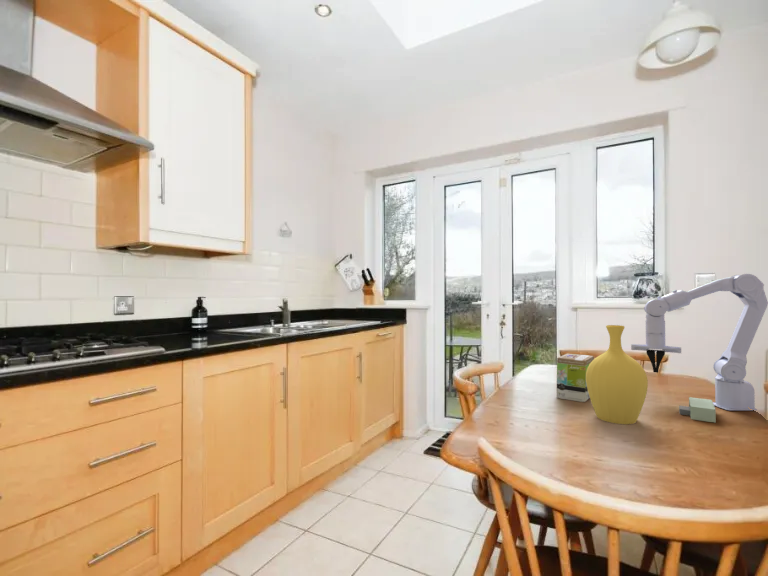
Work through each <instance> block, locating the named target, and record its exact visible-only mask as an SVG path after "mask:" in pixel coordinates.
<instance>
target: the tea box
mask: <svg viewBox="0 0 768 576" xmlns="http://www.w3.org/2000/svg"><path fill="white" fill-rule="evenodd" d="M594 359H595V357H594V355H587V354H577V353H565V354H562V355H560V356H558V357H557V358H556V398H557V399H562V400H569V401H575V402H581V403H585V402H587V401H588V400H589V399H590V396H589V393H588V389H587V384H586V371H587V368H588V366H589V364H590V363H591V362H592V361H593V360H594Z"/></svg>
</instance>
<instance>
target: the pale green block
mask: <svg viewBox="0 0 768 576" xmlns="http://www.w3.org/2000/svg"><path fill="white" fill-rule="evenodd" d="M713 402H714V401H713V400H712V399H708V398H701V397H700V398H697V397H691V396H689V397H688V407H690V415H691V416H690V420H694V421H702V422H708V423H714V424H716V421H717V420H716V418H717V413H716V406H714V404H713Z"/></svg>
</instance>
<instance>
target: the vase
mask: <svg viewBox="0 0 768 576" xmlns="http://www.w3.org/2000/svg"><path fill="white" fill-rule="evenodd" d="M605 328H606V330H607V332H608V335H609V346H608V349H607V350H605V351H604V352H603V353H601V354H600V355H598V356H597V357H594V360H593V361H592V362H591V363H590V364H589V366H588V368H587V371H586V384H587V389H588V393H589V396H590V398H589V399H590V401H591V402H590V403H591V404H592V408H593V410H594V412H595V414H596V415H595V416H596V417H597V419H598V420H599V419H600V420H601V421H603V422H607V423H611V424H612V423H613V424H619V425H633V424H635V423H637V421H638V419H639V416H640V415H641V412H642V409H643V407H644V403H645V401H646V396H647V395H648V394H647V393H648V386H649V382H648V381H649V380H648V376H647V375H648V374H647V373H646V371H645V369H644V367H643V366H642V365H641V363H639V362H638V361H637V360H636V359H634V358H633V357H632V356H630V355H629V354H627V353H626V352H625V351H624V349H623V347H622V335H623V332H624V330H625V325H620V324H619V325H618V324H614V325H613V324H608V325H605Z"/></svg>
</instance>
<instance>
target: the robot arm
mask: <svg viewBox="0 0 768 576" xmlns="http://www.w3.org/2000/svg"><path fill="white" fill-rule="evenodd" d="M764 287H765V284H764V283H763V282H762V281H761V279H759V277H758V276H757V275H754V274H752V273H744V274H735V275H732V276H728V277H723V278H720V279H719V278H718V279H716V280H713V281H710V282H708V283H705V284H702V285H700V286H697V287H695V288H693V289H690V290H688V291H686V290H683V289H679V290H677V289H674V290H671V293H668V294H664V295H663V296H661V295H659V296H657V297H656V298H657V299H651V300H648V301H647V302H646V303H645V305H644V307H643V309H644V312H645V318H646V319H645V344H639V343H638V344H635V343H632V344H630V346H631V347H630V348H631V349H630V350H632V351H644V352H645V351H646V353H645V354H646V355H647V357H648V359H649V361H650V364H651V366H652V370H653V373H659V369H660V366H661V365H660V364H661V362H662V360H663V358H664V357H665V354H666V353H673V354H675V353H676V354H682V347H680V346H669V345H666V320H665V314H666V313H667V312H668V313H669V312H672V311H676V310H678V309H682V308H684V307H688V306H689V305H690V304H691V303H692V301H693V300H695V299H698V298H702V297H705V296H707V295H711V294H713V293H717V292H730V293H732V294H734V295H735V296H736V297H738V299H739V300H740V301H741V302H742V303H743V305H744V306H743V309H742V311H741V314H740V315H739V318H738V320H737V323H736V325H735V328H734V330H733V333H732V335H731V337H730V340H729V343H728V345H727V347H726V349H725V350H724V351H723V352H722V353H721V354H720V357H719V358H718V359H716V360H715V362H713V370H714V372H715V373H716V376H715V377H714V385H715V386H714V390H715V391H714V392H715V397H714V398H715V401H712V402H713V404H714V407H717V408H720V409H723V410H726V411H753V410H754V411H758V409H757V408H755V407H756V403H755V401H756V400H755V399H756V397H755V396H756V395H755V388H754V386H753V384H752V383H751V382H749V381H747V380H744V379H745V378H746V377H747V370H746V369H747V367H746V366H747V363H748V359H747V355H748V353H749V350H750V348H751V345H752V342H753V340H754V338H755V336H756V334H757V332H758V328H759V326H760V324H761V321H762V319H763V317H764V314H765V312H766V310H767V308H768V298H767V295H766V292H765V290H764V289H765V288H764ZM748 407H749V408H750V409H752V410H750V409H749V408H748Z"/></svg>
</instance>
